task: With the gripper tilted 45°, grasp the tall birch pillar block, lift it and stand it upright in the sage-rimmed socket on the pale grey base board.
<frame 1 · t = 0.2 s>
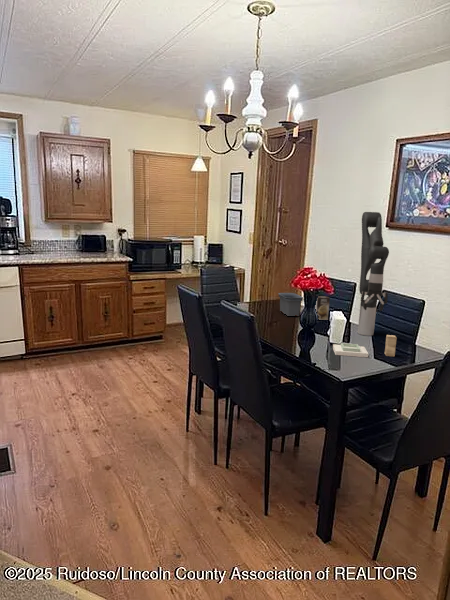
hand: (372, 310, 239), 18 cm above the table, tool pointing down, fingers open, 8 cm apart
birch pillar block: (389, 355, 217), on the table
socket base: (349, 352, 219), on the table
storage bin: (290, 314, 301), on the table
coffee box: (319, 320, 289), on the table
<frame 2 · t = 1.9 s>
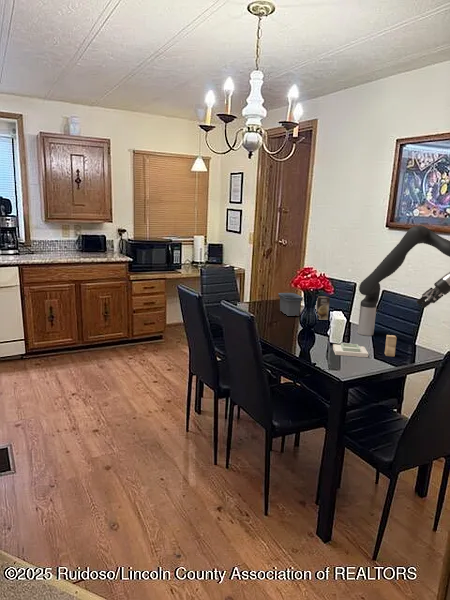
hand: (420, 304, 210), 27 cm above the table, tool tilted 45°, fingers open, 8 cm apart
nothing on the table moved.
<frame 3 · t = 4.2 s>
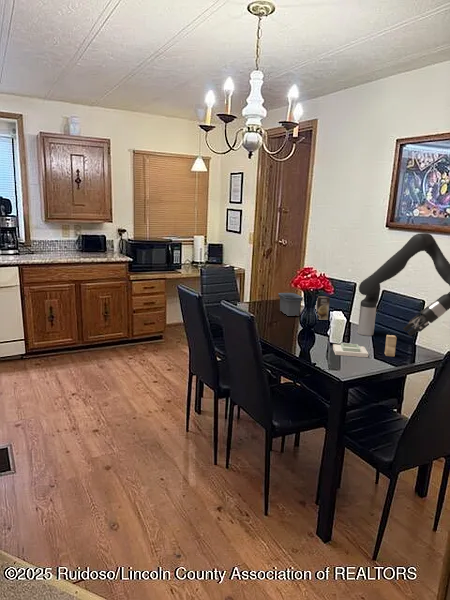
hand: (406, 332, 213), 13 cm above the table, tool tilted 45°, fingers open, 8 cm apart
nothing on the table moved.
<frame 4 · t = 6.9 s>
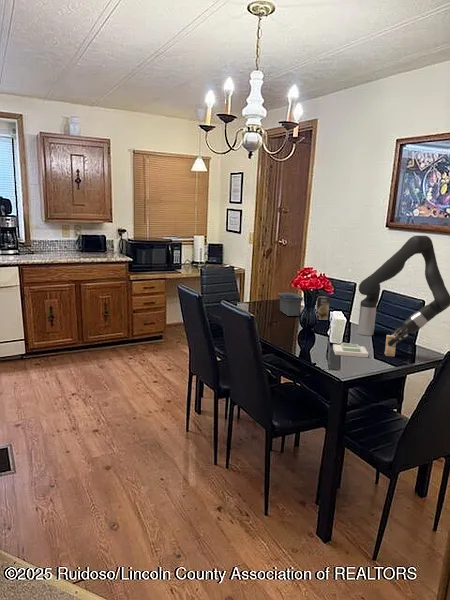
hand: (387, 343, 216), 6 cm above the table, tool tilted 45°, fingers closed on birch pillar block, 4 cm apart
birch pillar block: (389, 354, 217), on the table, touching gripper
everything else where it was.
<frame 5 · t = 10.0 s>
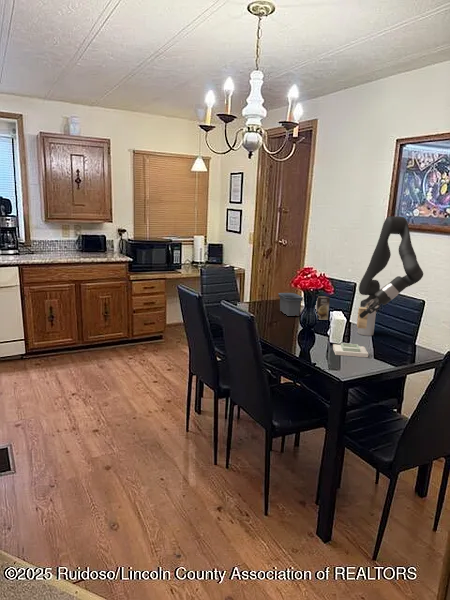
hand: (359, 315, 214), 20 cm above the table, tool tilted 45°, fingers closed on birch pillar block, 4 cm apart
birch pillar block: (361, 327, 215), point 14 cm above the table, touching gripper
everything else where it was.
when the fingers open (9 cm above the table, at t = 13.4 s): birch pillar block drops 1 cm, resting on socket base.
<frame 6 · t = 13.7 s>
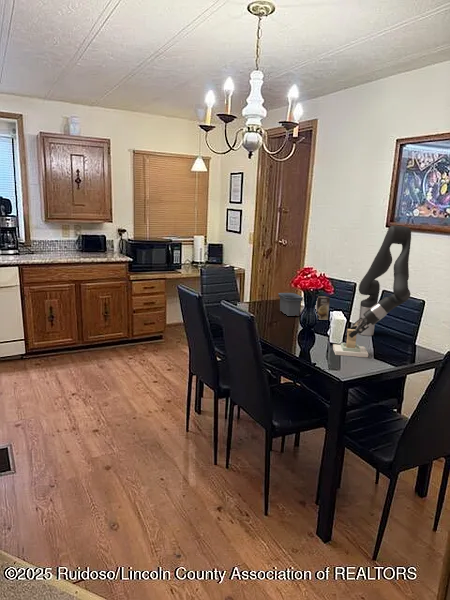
hand: (349, 334, 217), 10 cm above the table, tool tilted 45°, fingers open, 6 cm apart
birch pillar block: (350, 348, 218), point 2 cm above the table, touching socket base
everything else where it was.
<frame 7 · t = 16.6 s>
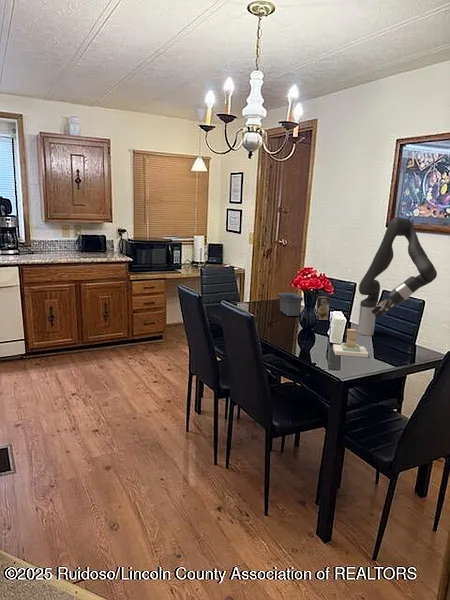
hand: (374, 314, 213), 21 cm above the table, tool tilted 45°, fingers open, 8 cm apart
nothing on the table moved.
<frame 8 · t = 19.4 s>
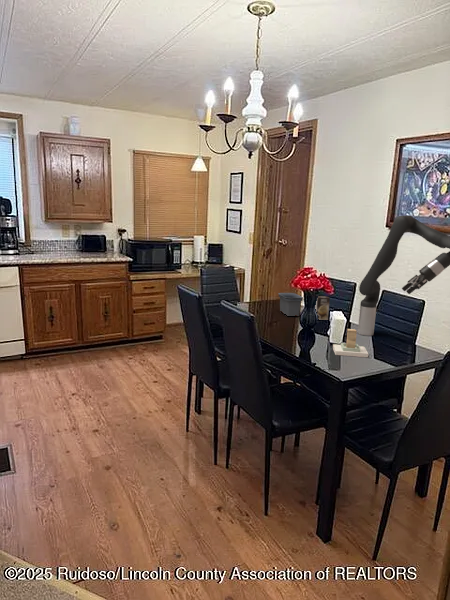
hand: (405, 291, 216), 33 cm above the table, tool tilted 45°, fingers open, 8 cm apart
nothing on the table moved.
at the end: birch pillar block 0.1 cm off-centre on the socket base, point 2.0 cm above the socket base's base; birch pillar block tilted 0°; the gripper is holding nothing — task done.
